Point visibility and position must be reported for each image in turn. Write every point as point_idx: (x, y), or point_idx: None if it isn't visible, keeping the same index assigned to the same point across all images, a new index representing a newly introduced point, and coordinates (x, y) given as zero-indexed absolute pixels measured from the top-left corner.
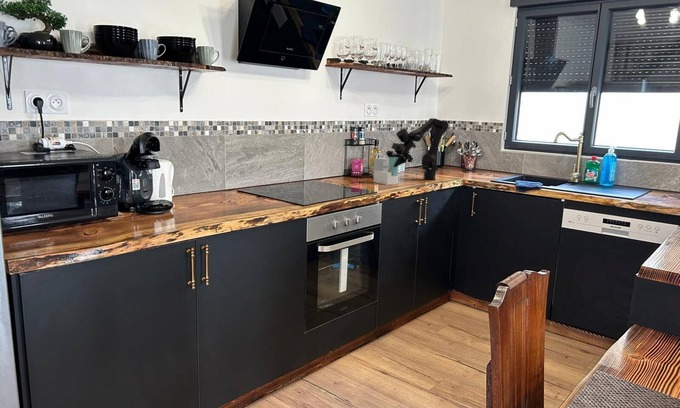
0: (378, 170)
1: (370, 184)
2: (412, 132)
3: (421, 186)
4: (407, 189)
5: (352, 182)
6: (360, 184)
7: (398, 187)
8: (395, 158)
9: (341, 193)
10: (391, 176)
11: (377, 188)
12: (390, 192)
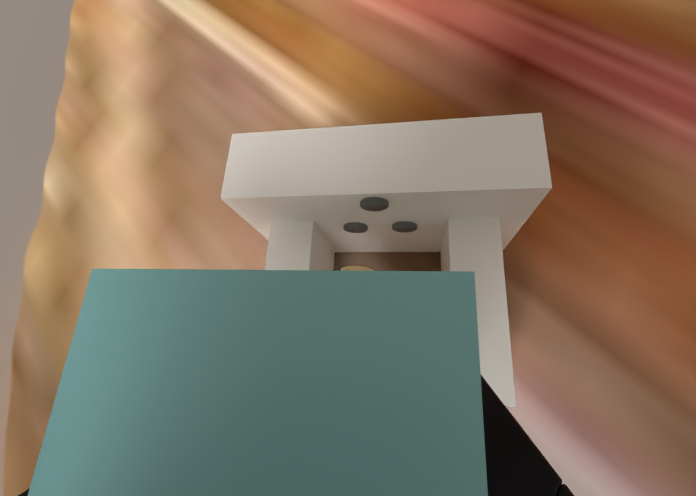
0: (525, 182)
1: (376, 85)
2: None
3: (22, 447)
4: (46, 187)
5: (549, 12)
6: (414, 17)
7: (137, 191)
8: (89, 407)
9: None
10: (268, 248)
11: (206, 32)
12: (71, 23)
